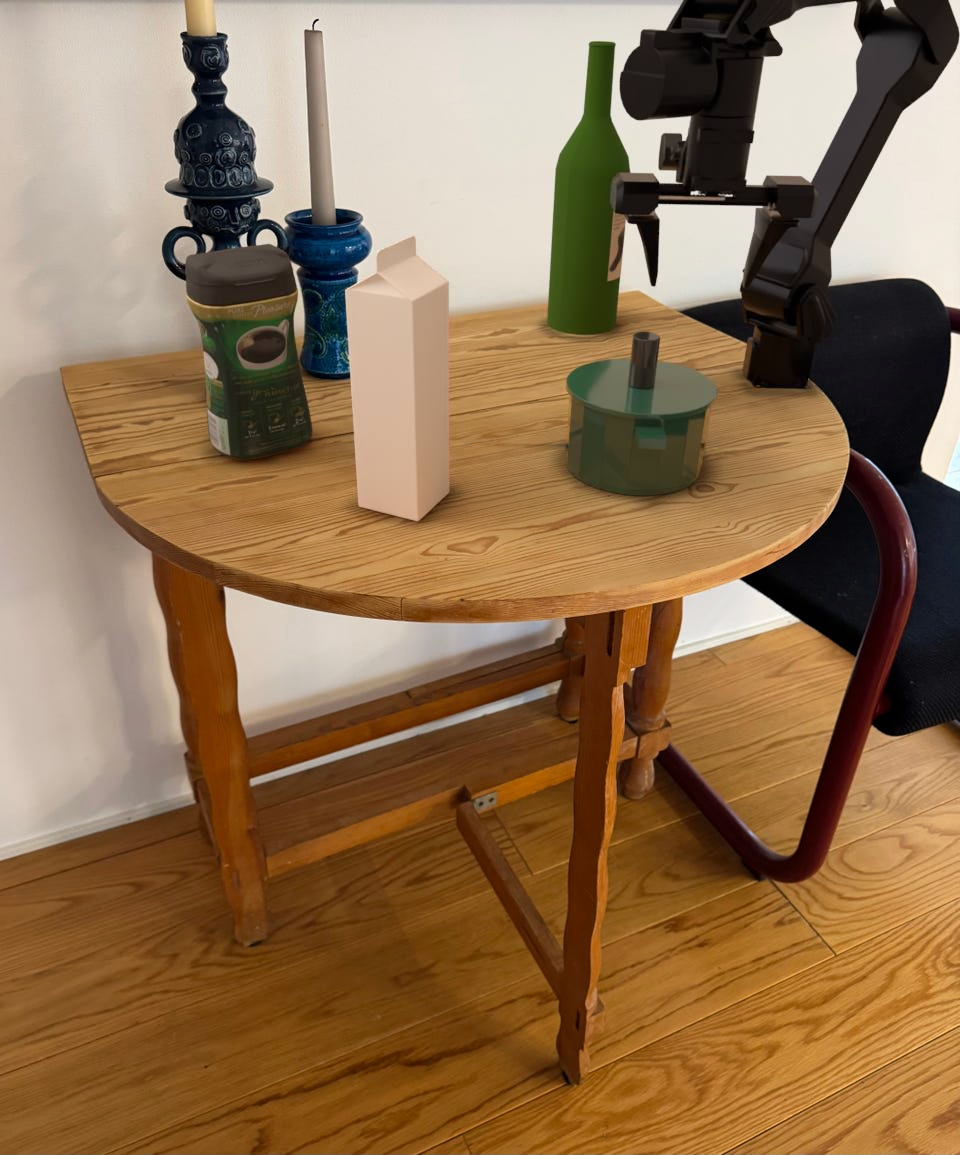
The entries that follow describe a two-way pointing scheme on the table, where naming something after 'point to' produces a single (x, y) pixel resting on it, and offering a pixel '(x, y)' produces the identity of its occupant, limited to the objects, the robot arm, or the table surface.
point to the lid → (641, 385)
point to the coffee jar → (249, 350)
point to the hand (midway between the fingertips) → (698, 286)
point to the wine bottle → (588, 212)
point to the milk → (400, 383)
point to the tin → (634, 451)
